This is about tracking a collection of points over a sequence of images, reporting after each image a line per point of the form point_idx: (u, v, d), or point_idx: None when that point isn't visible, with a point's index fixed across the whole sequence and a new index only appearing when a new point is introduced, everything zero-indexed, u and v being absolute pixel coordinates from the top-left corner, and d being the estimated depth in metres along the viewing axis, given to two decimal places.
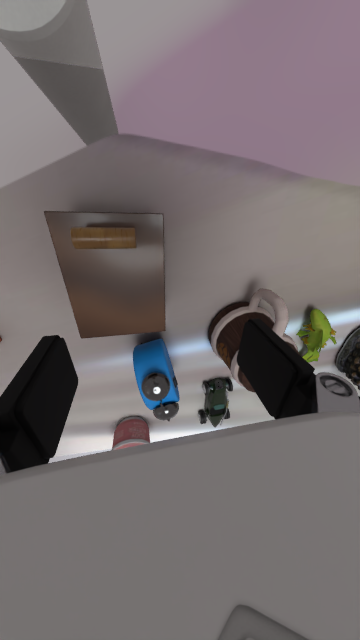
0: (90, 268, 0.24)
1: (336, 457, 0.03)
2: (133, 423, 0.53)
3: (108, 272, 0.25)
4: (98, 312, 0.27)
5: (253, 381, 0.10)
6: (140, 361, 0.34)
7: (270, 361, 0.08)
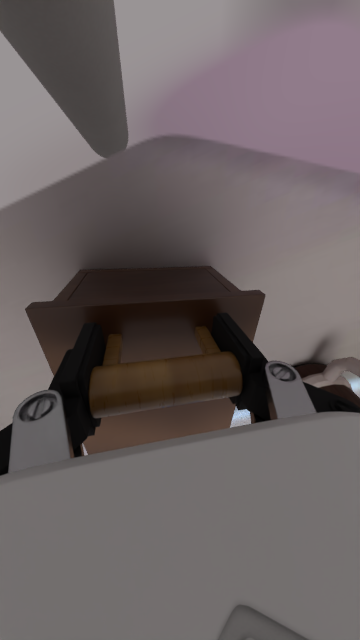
0: None
1: (336, 457, 0.03)
2: None
3: None
4: (126, 439, 0.16)
5: None
6: None
7: None
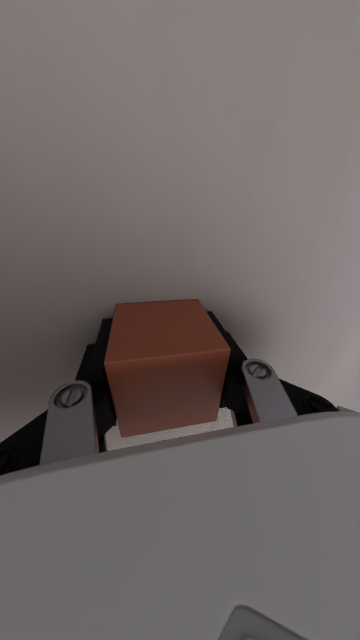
0: None
1: (336, 457, 0.03)
2: None
3: None
4: None
5: None
6: None
7: None
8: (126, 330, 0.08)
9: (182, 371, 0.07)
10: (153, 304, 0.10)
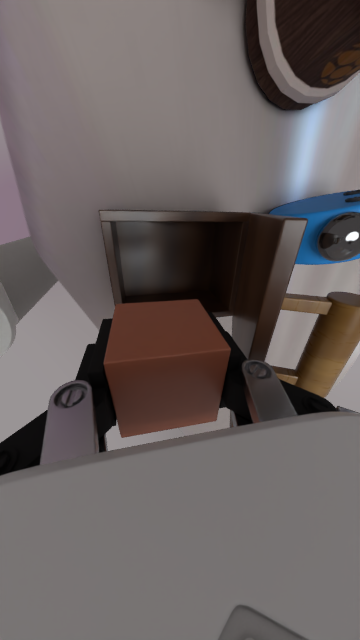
0: None
1: (336, 457, 0.03)
2: None
3: None
4: None
5: None
6: None
7: None
8: (126, 330, 0.08)
9: (182, 371, 0.07)
10: (153, 304, 0.10)
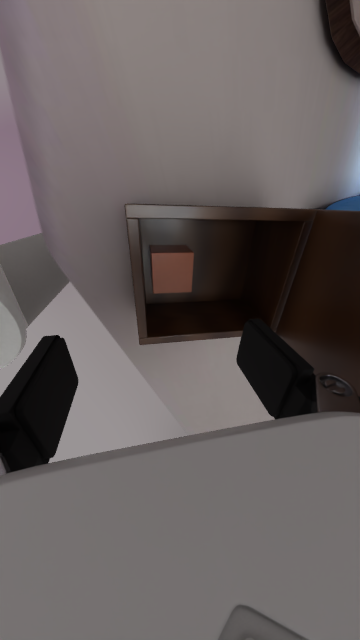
0: None
1: (336, 457, 0.03)
2: None
3: None
4: None
5: (253, 381, 0.10)
6: None
7: (270, 361, 0.08)
8: (175, 251, 0.20)
9: None
10: (153, 249, 0.21)
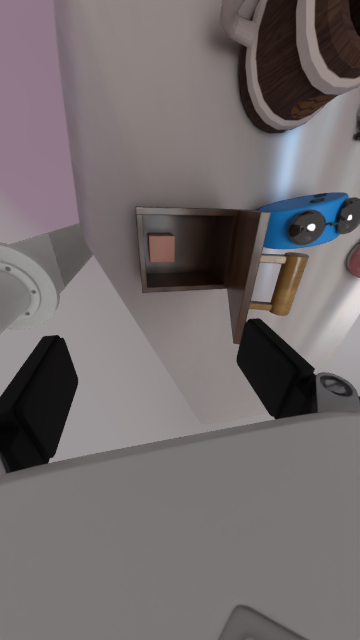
0: None
1: (336, 457, 0.03)
2: (357, 254, 0.45)
3: None
4: None
5: (253, 381, 0.10)
6: (271, 241, 0.33)
7: (270, 361, 0.08)
8: (163, 235, 0.33)
9: None
10: (150, 234, 0.34)
